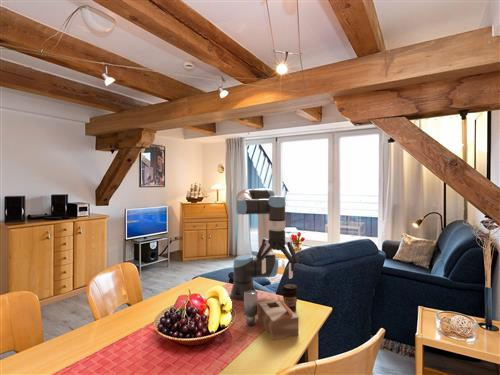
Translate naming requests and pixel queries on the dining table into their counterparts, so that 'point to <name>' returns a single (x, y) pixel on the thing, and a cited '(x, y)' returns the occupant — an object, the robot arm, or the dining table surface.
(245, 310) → the pin
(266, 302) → the hitch block
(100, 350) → the dining table surface
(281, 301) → the keeper
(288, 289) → the coffee cup
